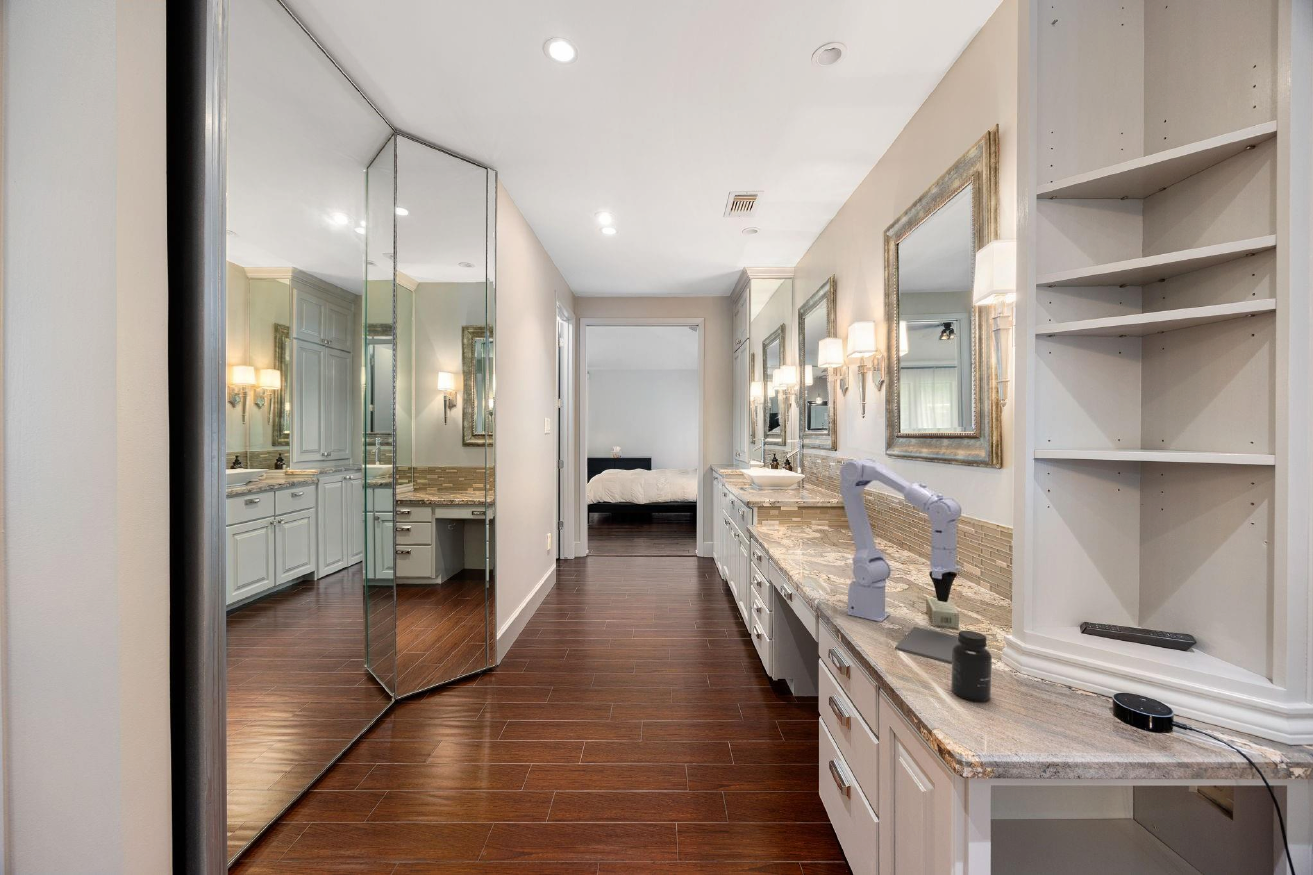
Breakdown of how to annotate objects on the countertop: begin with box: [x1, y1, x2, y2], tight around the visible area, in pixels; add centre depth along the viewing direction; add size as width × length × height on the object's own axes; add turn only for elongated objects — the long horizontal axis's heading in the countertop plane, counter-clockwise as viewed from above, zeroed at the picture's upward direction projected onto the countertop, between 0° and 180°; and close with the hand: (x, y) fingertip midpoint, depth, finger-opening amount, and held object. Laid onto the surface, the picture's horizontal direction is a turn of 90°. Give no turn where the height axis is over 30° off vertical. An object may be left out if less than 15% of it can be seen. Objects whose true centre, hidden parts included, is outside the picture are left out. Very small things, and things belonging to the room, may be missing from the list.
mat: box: [894, 626, 959, 665], centre depth 131 cm, size 14×17×1 cm
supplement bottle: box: [950, 629, 993, 703], centre depth 108 cm, size 7×7×12 cm
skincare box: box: [925, 596, 960, 630], centre depth 149 cm, size 6×4×12 cm
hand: (942, 600), depth 136 cm, fingers closed
